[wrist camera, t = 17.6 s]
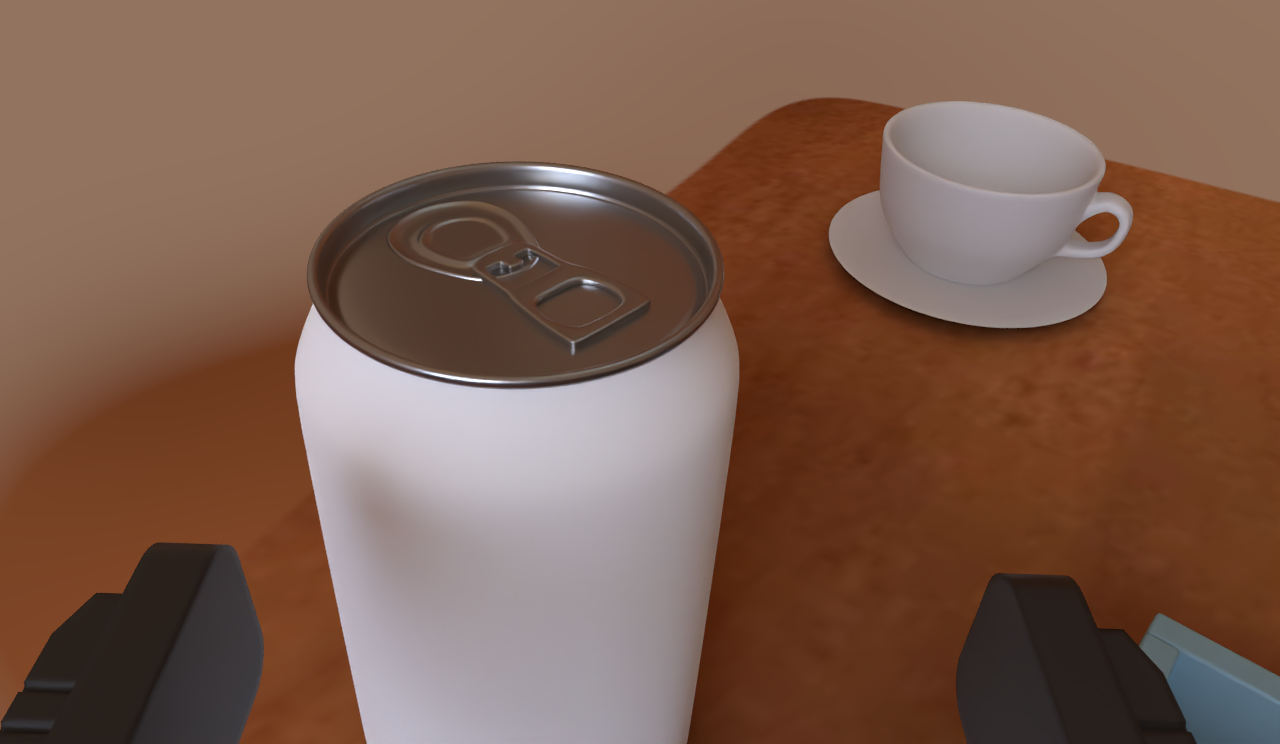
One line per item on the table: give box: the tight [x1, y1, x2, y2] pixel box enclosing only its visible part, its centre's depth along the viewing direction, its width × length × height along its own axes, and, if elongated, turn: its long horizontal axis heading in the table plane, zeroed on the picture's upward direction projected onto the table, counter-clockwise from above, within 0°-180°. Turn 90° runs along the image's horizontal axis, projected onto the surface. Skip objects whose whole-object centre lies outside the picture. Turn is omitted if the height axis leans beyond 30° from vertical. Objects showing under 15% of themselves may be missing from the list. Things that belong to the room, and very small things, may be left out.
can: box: [295, 162, 739, 744], centre depth 17 cm, size 6×6×12 cm
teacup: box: [829, 101, 1133, 328], centre depth 36 cm, size 10×10×5 cm
